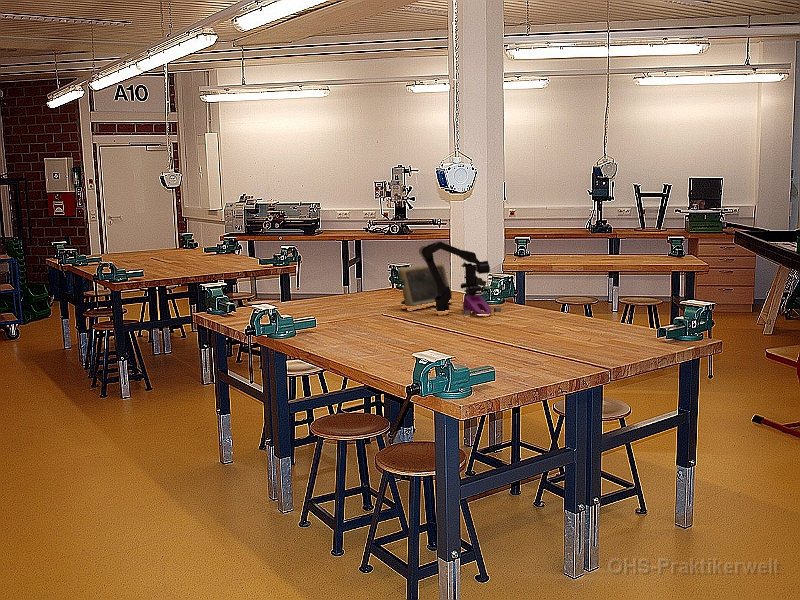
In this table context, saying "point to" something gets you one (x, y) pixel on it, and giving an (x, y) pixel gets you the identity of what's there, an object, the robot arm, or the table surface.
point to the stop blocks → (468, 312)
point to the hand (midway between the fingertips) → (471, 302)
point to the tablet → (420, 284)
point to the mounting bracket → (476, 304)
